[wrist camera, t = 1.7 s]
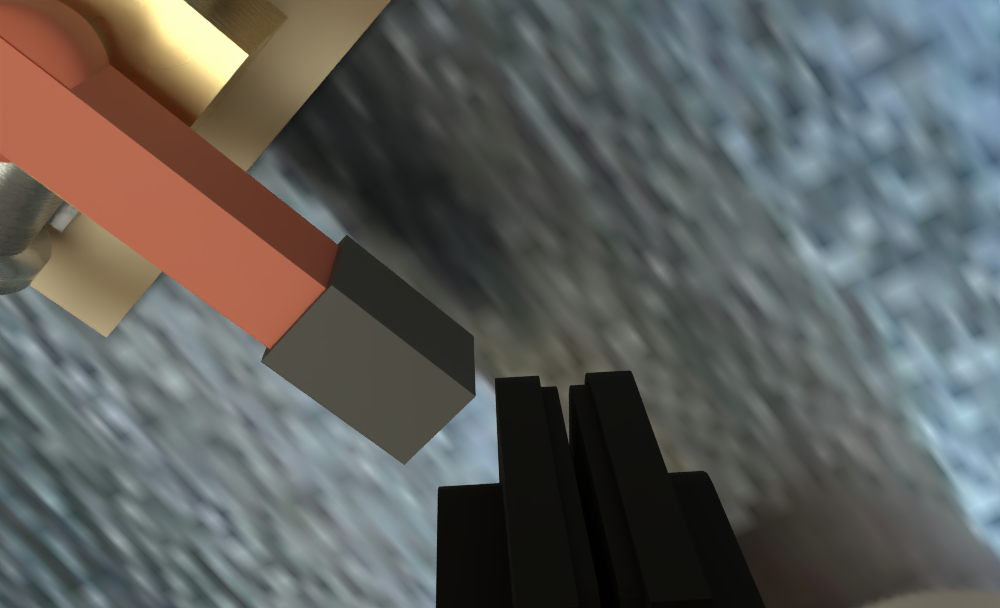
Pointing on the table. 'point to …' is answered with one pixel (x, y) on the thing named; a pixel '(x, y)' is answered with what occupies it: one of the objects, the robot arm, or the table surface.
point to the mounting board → (230, 129)
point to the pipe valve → (158, 72)
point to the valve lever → (227, 235)
